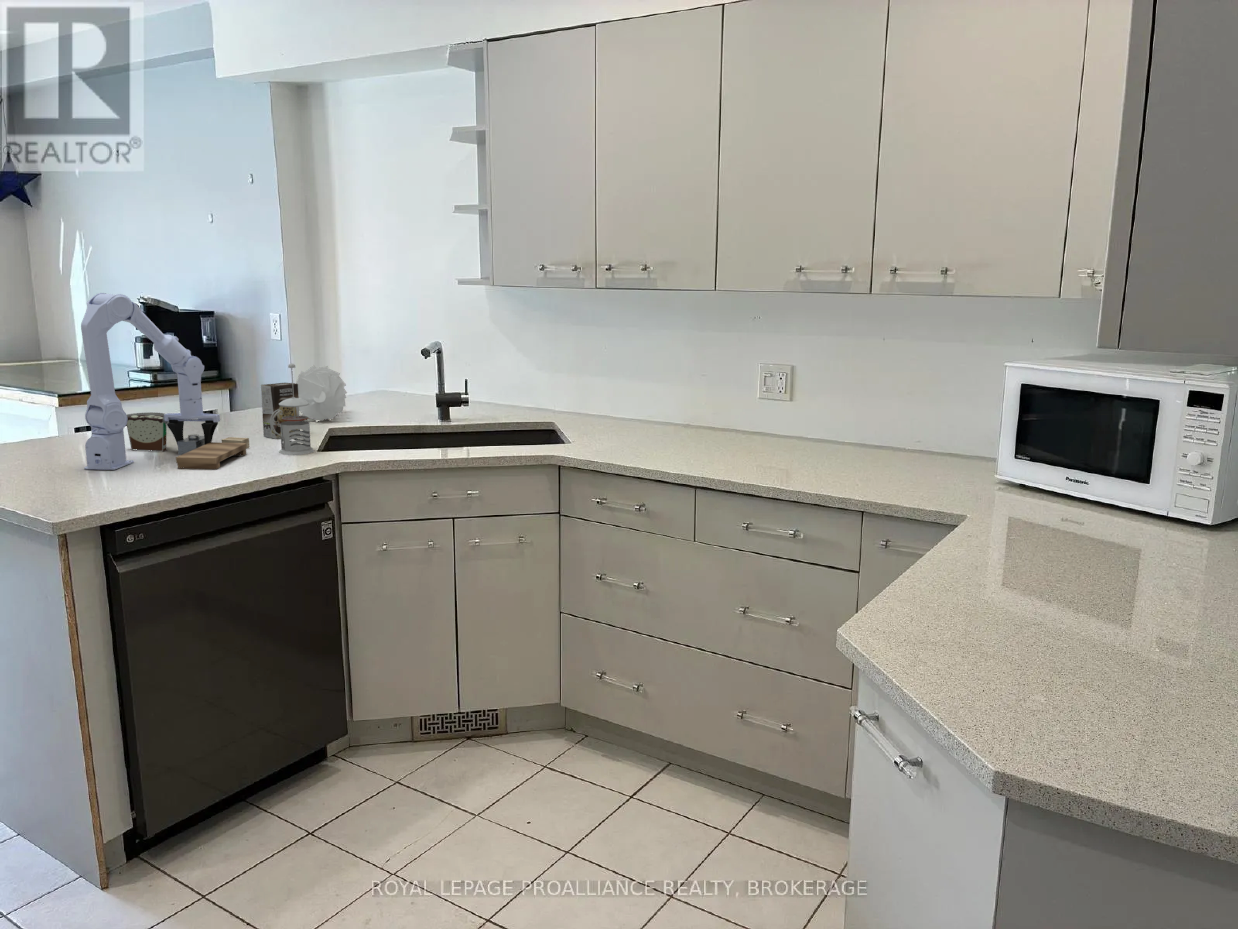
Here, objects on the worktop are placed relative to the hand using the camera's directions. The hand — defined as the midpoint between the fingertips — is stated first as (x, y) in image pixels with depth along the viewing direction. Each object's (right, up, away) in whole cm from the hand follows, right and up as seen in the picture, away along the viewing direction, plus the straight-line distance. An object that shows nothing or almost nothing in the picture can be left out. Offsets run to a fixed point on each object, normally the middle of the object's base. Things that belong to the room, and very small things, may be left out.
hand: (194, 446), depth 251 cm
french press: (+26, -2, +4) cm, 27 cm away
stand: (+10, -4, -10) cm, 15 cm away
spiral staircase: (+16, +11, +59) cm, 62 cm away
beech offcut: (+9, -1, +6) cm, 11 cm away
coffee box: (+15, +4, +26) cm, 30 cm away
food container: (-13, -1, +3) cm, 13 cm away
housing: (0, -2, 0) cm, 2 cm away
